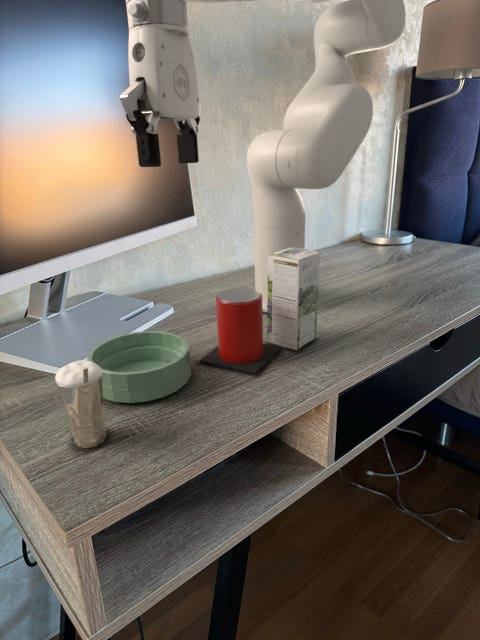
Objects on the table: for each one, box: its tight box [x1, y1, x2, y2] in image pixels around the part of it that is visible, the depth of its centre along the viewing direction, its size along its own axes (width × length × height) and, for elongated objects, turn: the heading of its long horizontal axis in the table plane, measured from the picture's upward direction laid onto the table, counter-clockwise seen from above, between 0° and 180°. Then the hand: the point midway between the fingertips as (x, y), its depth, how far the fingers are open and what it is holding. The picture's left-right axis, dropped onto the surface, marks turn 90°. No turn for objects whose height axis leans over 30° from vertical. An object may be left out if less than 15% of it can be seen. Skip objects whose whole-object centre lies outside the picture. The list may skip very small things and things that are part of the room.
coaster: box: [199, 342, 282, 376], centre depth 67 cm, size 9×9×1 cm
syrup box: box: [266, 248, 321, 351], centre depth 68 cm, size 6×6×14 cm
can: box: [215, 288, 264, 364], centre depth 65 cm, size 7×7×9 cm
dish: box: [86, 330, 192, 404], centre depth 60 cm, size 13×13×4 cm
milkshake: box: [54, 359, 108, 449], centre depth 47 cm, size 4×5×10 cm
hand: (170, 164), depth 63 cm, fingers open, 9 cm apart
